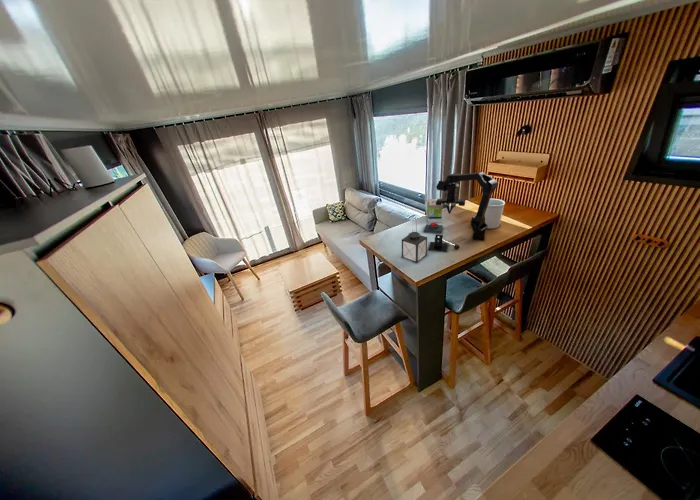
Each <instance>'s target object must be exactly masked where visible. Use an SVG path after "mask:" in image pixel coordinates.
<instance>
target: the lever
mask: <svg viewBox="0 0 700 500" xmlns="http://www.w3.org/2000/svg"><path fill="white" fill-rule="evenodd" d="M437 238H442V237H439V236H437ZM442 243H447V244H448V245H449V246H451V247H453V248H454V249H455V250H458V249H460V245H459V244H458V243H456V244H454V243H452V242H450V241H447V240H445V239H444V238H443V239H442Z"/></svg>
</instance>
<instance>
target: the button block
mask: <svg viewBox="0 0 700 500" xmlns="http://www.w3.org/2000/svg"><path fill="white" fill-rule="evenodd" d="M443 228H444V225H443V224H438V223H436V226H435V227H433V226H431V223H426V224H425V227H424V229H423V232H424V233H430V234H442V232H443Z"/></svg>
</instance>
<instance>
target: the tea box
mask: <svg viewBox="0 0 700 500" xmlns="http://www.w3.org/2000/svg"><path fill="white" fill-rule="evenodd" d="M437 199H438V198H427V210H426V218H427V222H428V223H427V224H431V223H436V224H438V223H442V216H443V205H444V204H443V203H442V204H441V205H436V201H437Z"/></svg>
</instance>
